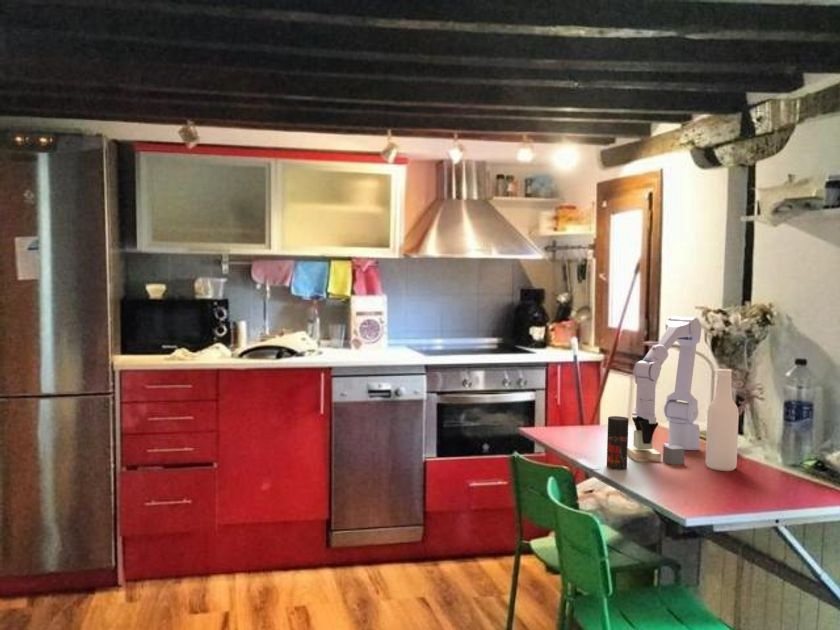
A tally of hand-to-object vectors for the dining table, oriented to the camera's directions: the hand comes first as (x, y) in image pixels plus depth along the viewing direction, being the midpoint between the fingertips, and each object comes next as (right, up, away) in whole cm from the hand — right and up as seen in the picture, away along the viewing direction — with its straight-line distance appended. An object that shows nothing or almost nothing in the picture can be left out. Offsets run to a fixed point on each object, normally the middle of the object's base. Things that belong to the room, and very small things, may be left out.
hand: (644, 441), depth 241 cm
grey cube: (+8, -6, -5) cm, 11 cm away
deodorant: (-12, -6, -11) cm, 17 cm away
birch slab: (0, -5, 0) cm, 5 cm away
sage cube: (0, -2, 0) cm, 2 cm away
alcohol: (+20, -7, -10) cm, 23 cm away
